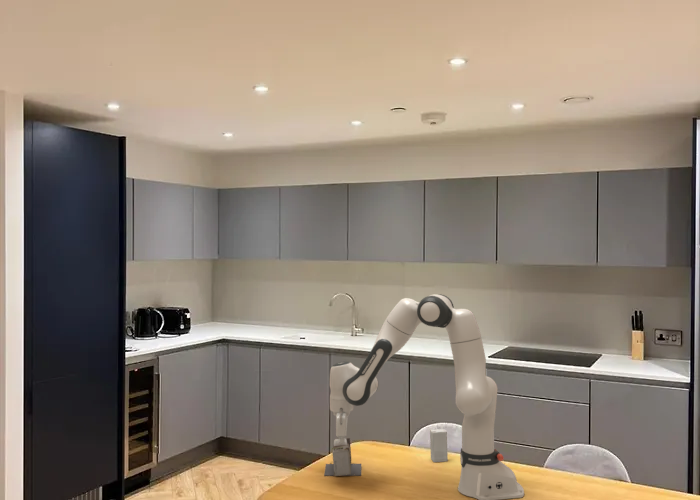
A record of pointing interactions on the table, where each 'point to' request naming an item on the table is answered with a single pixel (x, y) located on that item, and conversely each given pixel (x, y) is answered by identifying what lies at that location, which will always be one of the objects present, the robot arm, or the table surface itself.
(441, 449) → the skincare box
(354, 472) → the mat
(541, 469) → the table surface
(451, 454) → the table surface
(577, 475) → the table surface
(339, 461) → the coffee box
